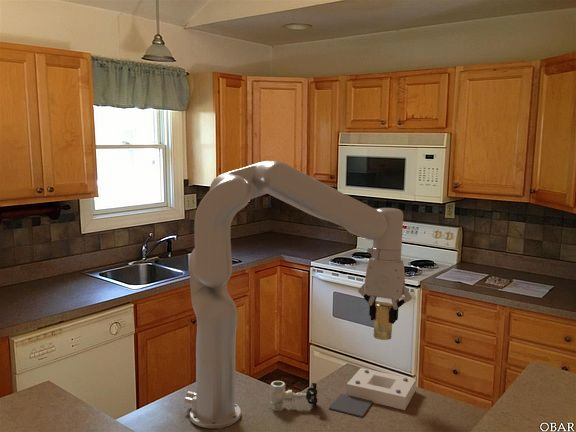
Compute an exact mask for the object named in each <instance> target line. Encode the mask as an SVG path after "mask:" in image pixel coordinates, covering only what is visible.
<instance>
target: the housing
mask: <svg viewBox="0 0 576 432" xmlns="http://www.w3.org/2000/svg"><path fill="white" fill-rule="evenodd" d="M416 381H417V380H416V379H414V378H411V377H410V378H409V377H406V376H400V375H396V374H392V373H391V374H390V373H387V372H382V371H377V370H373V369H367V368H363V367H360V369H359V370H357V372H356V373H355V374H354V375H353V376H352V377H351V379H350V380H348V381H347V383H346V393H345V394H346V395H350V396H354V397H358V398H362V399H367V400H371V401H373V403H372V404H378V405H382V406H387V407H389V408H395V409H398V410H402V411H405V410H406V408H407V407H408V405H409V404H410V401H411V400H412V398H413V396H414V394H415V393H416V383H417V382H416Z"/></svg>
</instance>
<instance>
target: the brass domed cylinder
mask: <svg viewBox="0 0 576 432" xmlns="http://www.w3.org/2000/svg"><path fill="white" fill-rule="evenodd" d="M392 308H393V304H392V302H387V301H378V302H376V303H375V317H374V320H373V321H374V322H373V336H372V337H373V338H375V339H377V340H381V341H388V340H391V339H392V335H393V334H392V333H393V332H392V331H393V324H391V323H390V320H391V309H392Z"/></svg>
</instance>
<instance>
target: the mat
mask: <svg viewBox="0 0 576 432" xmlns="http://www.w3.org/2000/svg"><path fill="white" fill-rule="evenodd" d="M373 404H374V403H373V401H371V400H367V399H362V398H358V397H354V396H350V395H346V393H345V394H344V393H340V394H339V395H338V396H337V397H336V399H334V401H333V402H332V404H330V406H329V407H328V409H329V410H331V411H335V412H339V413H343V414H347V415H351V416H354V417H358V418H363V417H365V414H366V413H367V411H368V410H369V408H370V407H372V405H373Z"/></svg>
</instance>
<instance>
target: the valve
mask: <svg viewBox="0 0 576 432" xmlns="http://www.w3.org/2000/svg"><path fill="white" fill-rule="evenodd" d="M317 395H318V389H317V383H316V382H311V387H309V388H308V389H307V390H306V391H305V393H303V392H302V391H299V392H298V391H297V392H296V393H295V392H294V391H293V389H287V390H286V383H285V382H284V381H282V380H274V381H272V382H271V383H270V393H269V399H270V403H269V408H270V409H271V410H272V411H275V412H277V411H278V412H281V411H283V410H284V409H285V408H286V402H288V403H292V402H293V400H295V399H296V400H303V399H305V400H306V401H307V403H308V404H309V405H311V408H312V409H314V410H315V409H317V408H318V405H317V403H318V398H317ZM285 401H286V402H285Z"/></svg>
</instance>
